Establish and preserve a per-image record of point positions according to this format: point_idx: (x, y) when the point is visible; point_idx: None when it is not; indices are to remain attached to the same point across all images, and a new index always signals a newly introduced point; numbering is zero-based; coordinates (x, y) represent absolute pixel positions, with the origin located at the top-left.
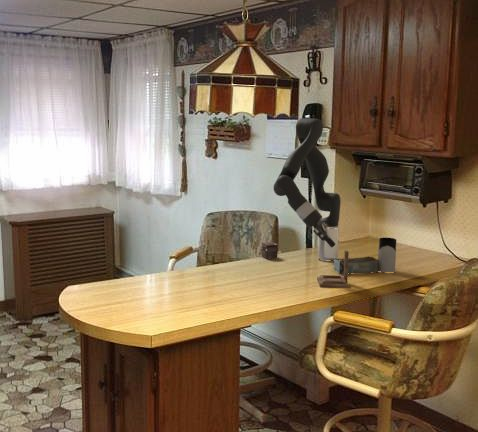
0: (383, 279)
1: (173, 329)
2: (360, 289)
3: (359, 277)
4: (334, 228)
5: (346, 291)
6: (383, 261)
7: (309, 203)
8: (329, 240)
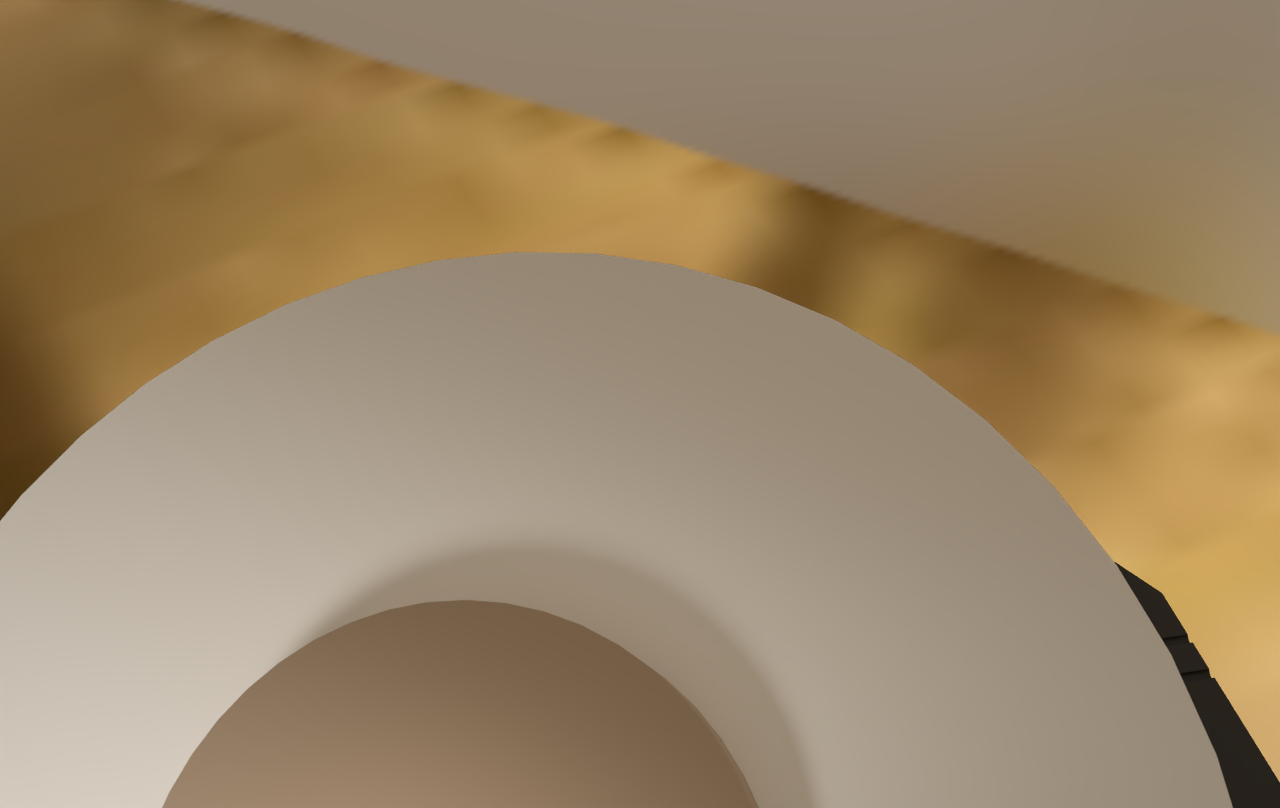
0: (143, 185)
1: None
2: (862, 239)
3: None
4: (486, 602)
5: (1126, 370)
6: None
7: None
8: (1266, 769)
